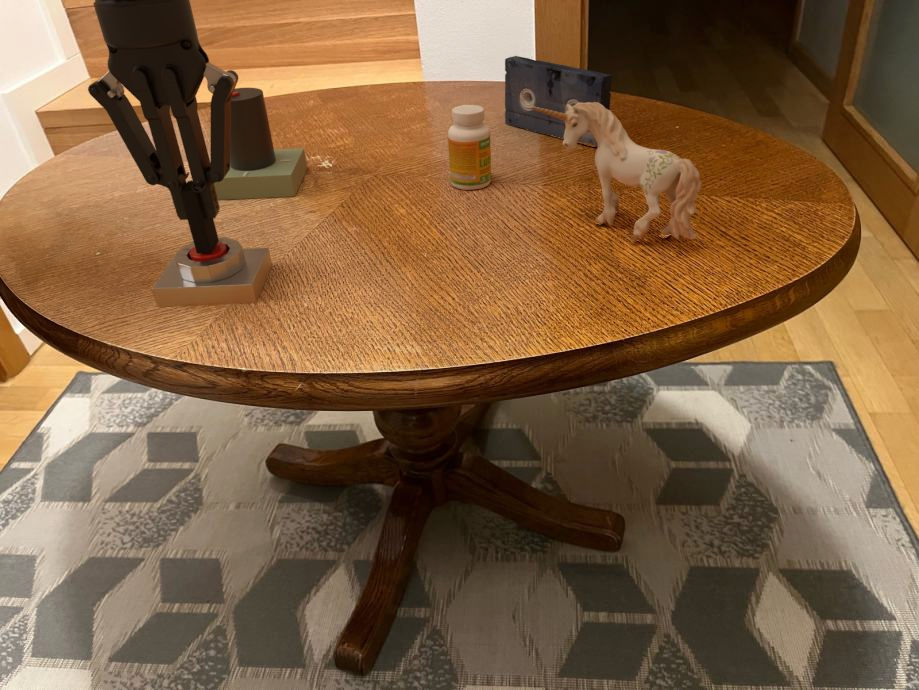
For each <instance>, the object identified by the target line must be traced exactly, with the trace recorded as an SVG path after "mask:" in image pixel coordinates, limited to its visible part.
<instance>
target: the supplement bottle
mask: <svg viewBox="0 0 919 690" xmlns="http://www.w3.org/2000/svg"><path fill="white" fill-rule="evenodd" d="M451 116H452V117H451V118H452V122H453V124H452V125H450V127H449V128H448V131H447V145H448V163H449V180H450V184H451V186H452V187H453V188H456V189H459V190H464V191H474V190H480V189H483V188H485V187H488V186H489V185H490V183H491V181H492V157H491V156H492V155H491V154H492V153H491V151H492V150H491V149H492V148H491V130H490V127H489V126H488V125H487V124H486V123H484V121H485V108H484V107H483V106H481V105H478V104H461V105H457V106H454V107H453V108H452V110H451Z"/></svg>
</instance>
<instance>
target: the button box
mask: <svg viewBox="0 0 919 690" xmlns="http://www.w3.org/2000/svg"><path fill="white" fill-rule="evenodd" d="M218 239H219V241H218V242H222V243H224V244H225V245H226V248H227V252H228V253H227V254H225V255H224V256H222V257H220V258H218V259H214V260H210V261H193V260H191V257H190V250H191V249H192V248H193V247H194V246H195V245H194V241H192V242H190V243H188V244H186V245H184V246H182V247H181V248H179V249H178V250H177V251H176V252H175V254H174V255H173V256H172V258H171V259H170V261H169V262H168V264H167V265H166V266H165V268H164V269H163V271H162V273H161V274H160V275H159V276H158V279H157V280H156V281H155V283H154V284H153V286H152V288H151V291H152V295H153V297H154V300H155V303H156V307H157V308H166V307H167V308H168V307H169V308H170V307H171V308H172V307H192V306H193V307H195V306H214V305H215V306H219V305H239V304H244V305H245V304H257V303H258V300H259V298H260V295H261V293H262V292H263V291H262V290H263V288H264V286H265V283H266V282H267V279H268V277H269V274H270V272H271V269H272V267H273V261H272V256H271V251H270V248H269V247H255V248H254V247H253V248H243V246H242V245H241V243H240V242H239V241H238V239H233V238H230V237H226V236H220V237H219V236H218Z"/></svg>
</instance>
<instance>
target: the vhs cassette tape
mask: <svg viewBox="0 0 919 690" xmlns="http://www.w3.org/2000/svg"><path fill="white" fill-rule="evenodd" d="M504 71H505V73H504V108H505V111H504V123H505V125H507V124H508V125H507V126H510V125H512V126H511V127H515V126H516V127H515V128H518V127H520V128H519V129H522V128H524V129H523V130H525V129H528V130H527V131H529V130H532V131H536V132H539V133H538V134H540V133H543V134H548V135H553V136H556V137H560V138H564V132H565V129H566V125H565V121H563V120H560V119H558V118H555V117H553V116H549V115H547V114H544V113H541V112H538V111H536V110H533V109H532V108H531V107H532V106H535V107H539V108H543V109H548V110H552V111H557V112H559V113H564V114H565V113H566V112H567V111H569V109H568V107H567V104H569V105H570V106H575V105H576V104H577V103H581V102H582V103H587V102H590V103H593V102H597V103H600V104H601V105H603V106H604V107H605V108H606V109H608V110H610V111H611V109H610V108H611V98H612V97H611V96H612V94H611V91H612V83H613V74H609V73H602V72H599V71H594V70H591V69H589V70H588V69H585V68H578V67H574V66H569V65H566V64H565V65H564V64H559V63H553V62H550V61H544V60H538V59H537V60H535V59H532V58H529V57H524V56H519V55H514V56H509V57H507V58H505V59H504ZM532 131H531V132H532ZM536 132H535V133H536ZM543 134H542V135H543ZM548 135H547V136H548ZM578 142H582V143H587V144H592V145H595V146H598V145H597V141H596V139H595V137H594V136H593V134H592V133H591V132H590V131H589V130H588V131H587V132H586V133H585V134H583V135H581V137H580V138H579V140H578Z"/></svg>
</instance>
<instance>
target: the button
mask: <svg viewBox="0 0 919 690" xmlns="http://www.w3.org/2000/svg"><path fill="white" fill-rule="evenodd" d="M227 253H228V252H227V248H226V245H225V244H224V243H222V242H218V243H217V245H216V246H215V248H214V250H213V251H212V253H197V252H196V248H195V246H194V247H193V248H192V249H191V250H190V257H191V260H193V261H210V260H214V259H218V258H220V257H222V256H224V255H225V254H227Z"/></svg>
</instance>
